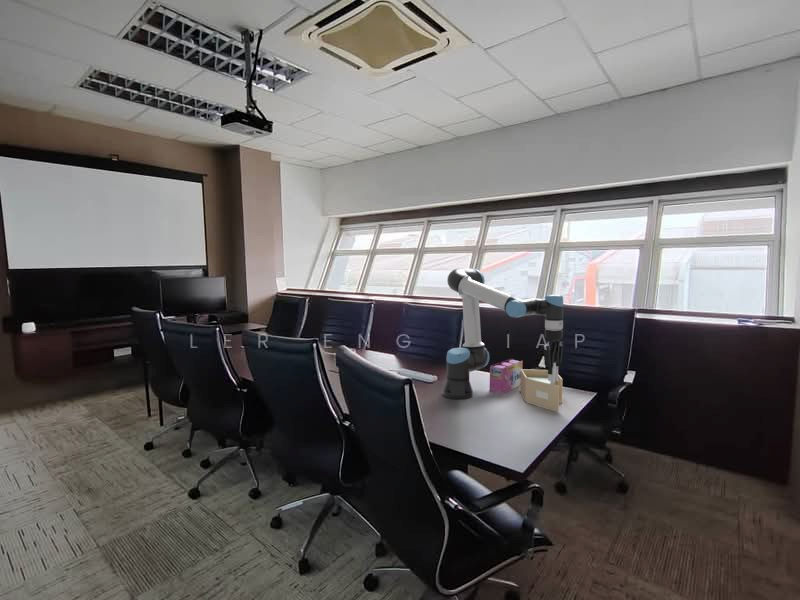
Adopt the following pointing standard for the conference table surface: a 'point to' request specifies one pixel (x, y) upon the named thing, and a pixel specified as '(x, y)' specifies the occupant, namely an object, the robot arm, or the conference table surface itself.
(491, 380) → the gum box
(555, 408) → the front flap
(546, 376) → the carton
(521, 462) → the conference table surface
